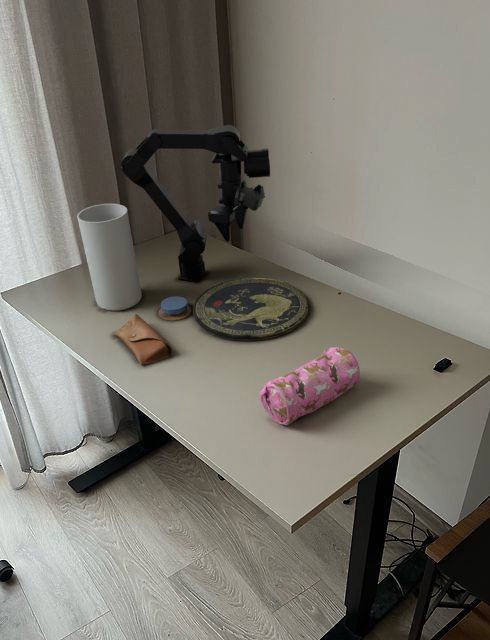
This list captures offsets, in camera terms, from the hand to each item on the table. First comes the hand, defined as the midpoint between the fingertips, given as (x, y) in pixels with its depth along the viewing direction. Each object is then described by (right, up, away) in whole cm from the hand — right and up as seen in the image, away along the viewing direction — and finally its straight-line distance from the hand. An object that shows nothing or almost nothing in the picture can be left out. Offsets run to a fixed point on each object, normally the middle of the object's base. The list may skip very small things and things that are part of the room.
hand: (234, 234), depth 167 cm
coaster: (-16, -22, -8) cm, 29 cm away
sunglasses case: (-23, -32, -19) cm, 44 cm away
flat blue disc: (-16, -22, -8) cm, 28 cm away
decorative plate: (+4, -22, -10) cm, 25 cm away
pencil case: (+15, -45, -41) cm, 63 cm away
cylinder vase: (-32, -18, 0) cm, 37 cm away
